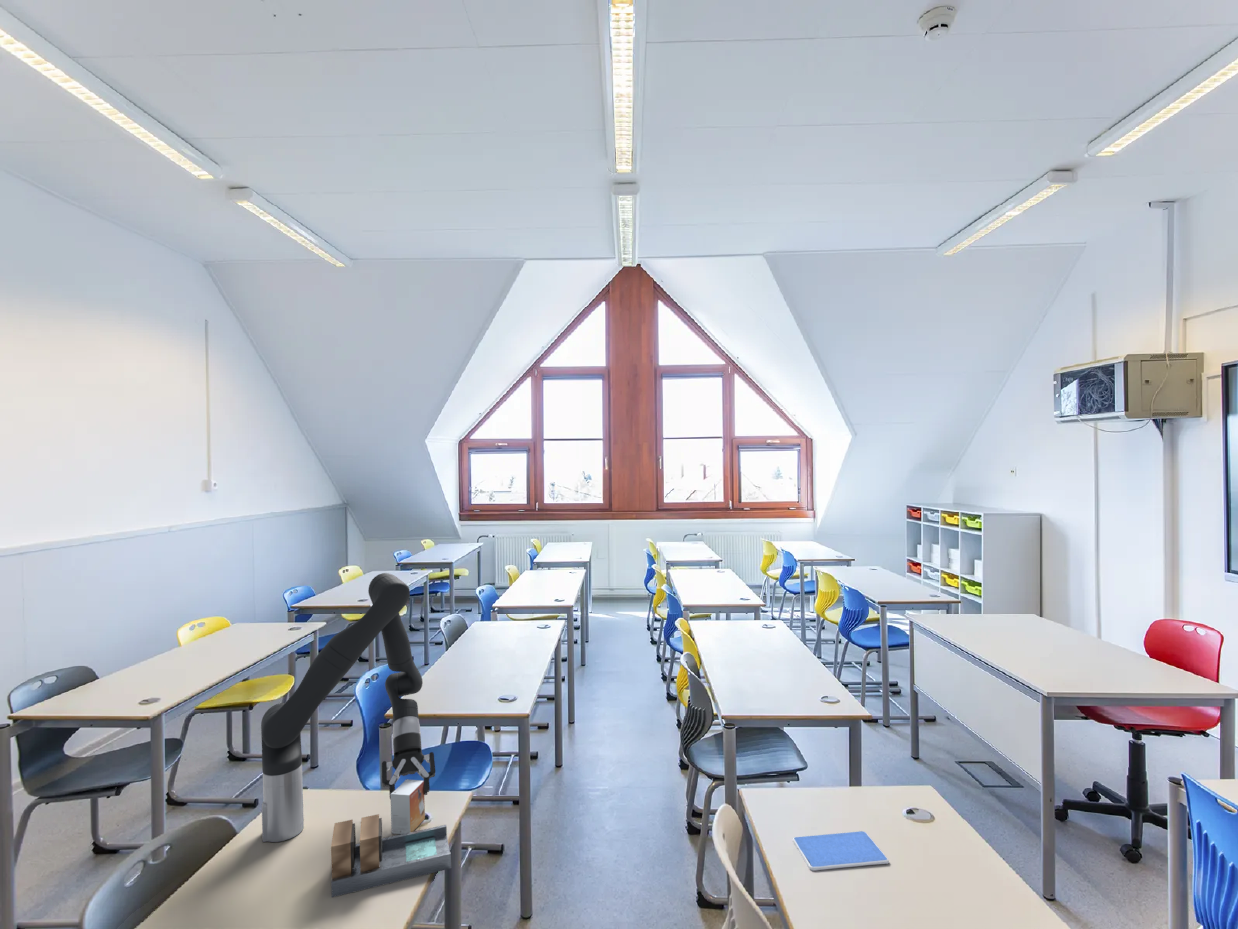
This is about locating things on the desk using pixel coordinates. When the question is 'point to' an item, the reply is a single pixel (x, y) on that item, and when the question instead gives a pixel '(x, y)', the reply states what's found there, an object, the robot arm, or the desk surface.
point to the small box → (407, 806)
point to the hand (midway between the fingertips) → (410, 797)
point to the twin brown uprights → (346, 846)
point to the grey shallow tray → (400, 860)
